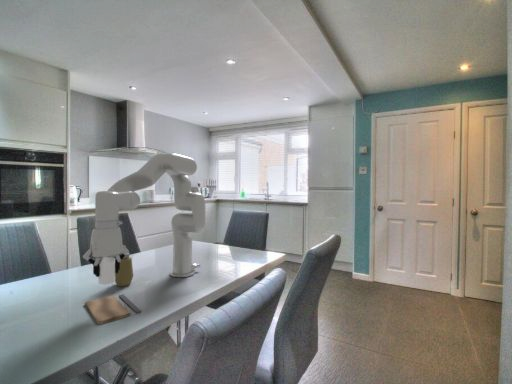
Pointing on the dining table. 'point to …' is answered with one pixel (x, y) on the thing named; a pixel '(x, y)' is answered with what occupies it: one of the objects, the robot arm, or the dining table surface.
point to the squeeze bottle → (124, 271)
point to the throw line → (130, 303)
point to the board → (106, 309)
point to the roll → (106, 270)
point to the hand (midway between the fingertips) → (106, 273)
